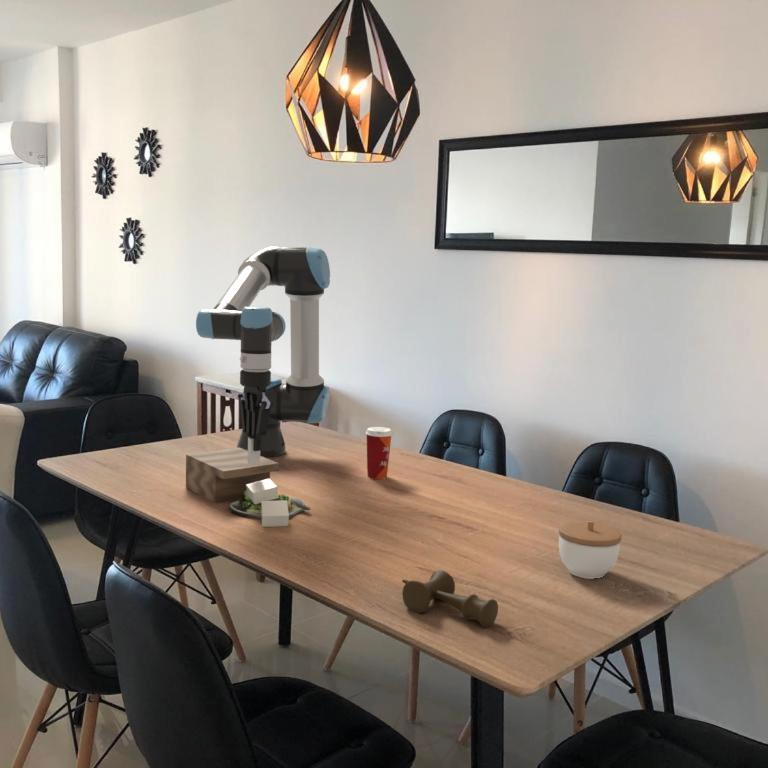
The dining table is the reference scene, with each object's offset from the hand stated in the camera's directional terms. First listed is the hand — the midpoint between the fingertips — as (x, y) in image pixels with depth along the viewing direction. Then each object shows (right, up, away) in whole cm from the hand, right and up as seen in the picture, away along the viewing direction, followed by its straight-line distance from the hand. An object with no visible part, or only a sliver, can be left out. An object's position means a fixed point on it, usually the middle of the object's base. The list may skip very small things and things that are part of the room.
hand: (253, 462), depth 211 cm
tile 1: (+3, -5, -6) cm, 8 cm away
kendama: (+44, -22, -58) cm, 76 cm away
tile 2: (+7, -12, -13) cm, 19 cm away
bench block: (-7, -9, +10) cm, 15 cm away
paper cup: (+31, -7, +31) cm, 44 cm away
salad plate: (+3, -12, -2) cm, 12 cm away
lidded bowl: (+75, -20, -36) cm, 85 cm away
